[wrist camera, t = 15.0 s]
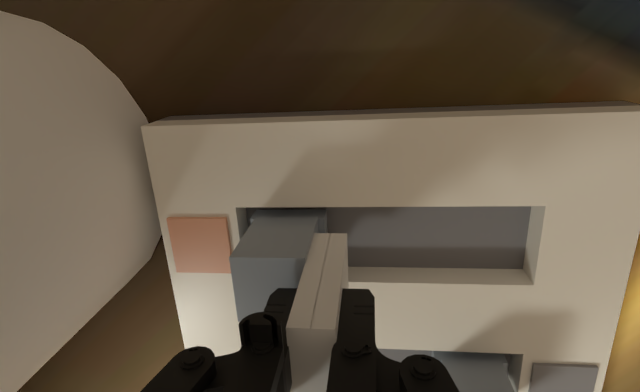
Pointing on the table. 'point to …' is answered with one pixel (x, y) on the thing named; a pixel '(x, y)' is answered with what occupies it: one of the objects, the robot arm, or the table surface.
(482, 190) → the switch bank
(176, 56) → the table surface
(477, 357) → the switch tab
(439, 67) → the table surface
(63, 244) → the cylinder
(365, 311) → the robot arm
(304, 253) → the switch tab
